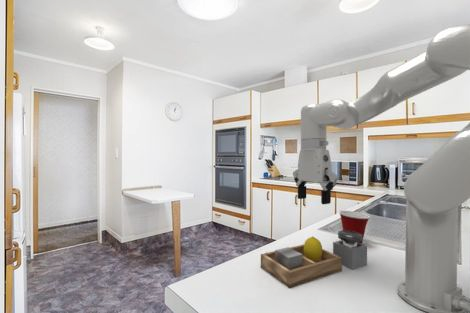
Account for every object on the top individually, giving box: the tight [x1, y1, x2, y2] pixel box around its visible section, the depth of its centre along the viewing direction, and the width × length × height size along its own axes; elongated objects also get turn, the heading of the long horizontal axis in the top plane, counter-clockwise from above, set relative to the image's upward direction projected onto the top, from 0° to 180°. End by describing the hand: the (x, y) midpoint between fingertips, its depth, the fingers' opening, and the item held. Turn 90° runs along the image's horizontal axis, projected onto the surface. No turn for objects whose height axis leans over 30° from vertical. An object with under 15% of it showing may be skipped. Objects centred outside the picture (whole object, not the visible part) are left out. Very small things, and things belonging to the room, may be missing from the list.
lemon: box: [303, 236, 323, 262], centre depth 75 cm, size 6×6×8 cm
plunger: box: [337, 229, 362, 248], centre depth 77 cm, size 7×7×8 cm
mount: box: [332, 239, 368, 270], centre depth 77 cm, size 7×7×6 cm
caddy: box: [260, 243, 343, 289], centre depth 73 cm, size 13×20×6 cm, turn 118°
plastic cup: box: [338, 210, 371, 244], centre depth 94 cm, size 11×11×12 cm
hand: (313, 201), depth 75 cm, fingers open, 9 cm apart
